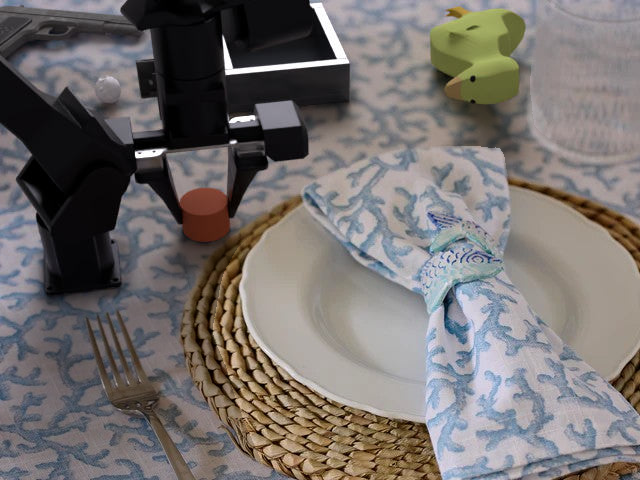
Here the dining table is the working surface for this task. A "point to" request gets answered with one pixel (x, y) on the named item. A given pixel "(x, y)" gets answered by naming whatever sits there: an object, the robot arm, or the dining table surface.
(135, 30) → the pistol
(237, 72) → the dark grey open box
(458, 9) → the toy
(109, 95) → the white bumpy ball
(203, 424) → the dining table surface
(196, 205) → the stopper
